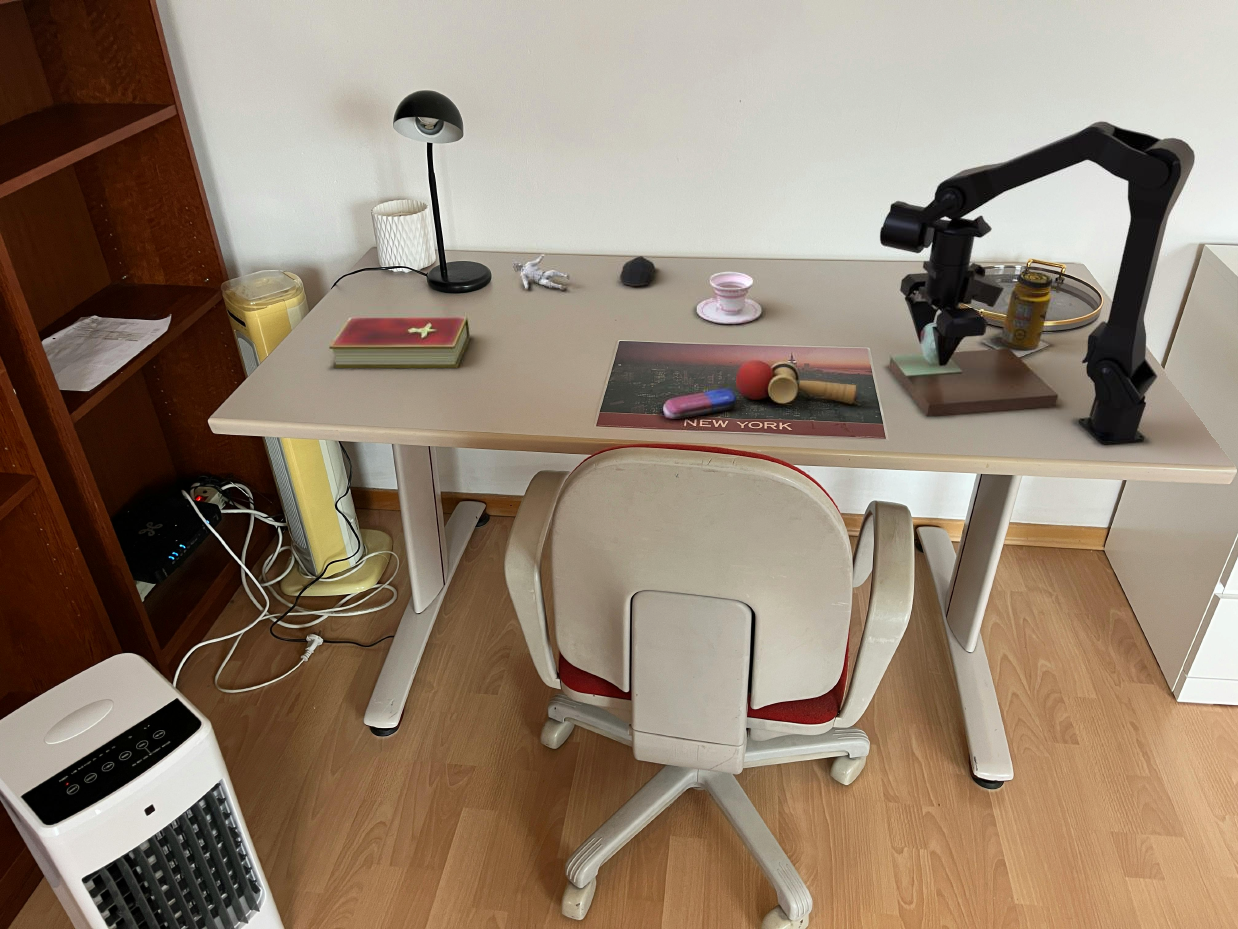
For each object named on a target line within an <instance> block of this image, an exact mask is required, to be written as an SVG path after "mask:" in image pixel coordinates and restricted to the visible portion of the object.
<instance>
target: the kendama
mask: <svg viewBox="0 0 1238 929" xmlns="http://www.w3.org/2000/svg"><path fill="white" fill-rule="evenodd" d="M735 387H736V389H737V392H739V393H740V394H741V395H742V396H743V397H744V398H746V399H750V400H754V401H755V400H756V401H757V400H762V399H764V398H768V397H770V398H771V400H772V401H773V402H775V403H776V404H789V403H791V402H792V401H794V400H795V398H796V397H797V395H798V392H801V393H805V394H808V395H811V396H815V397H820V398H824V399H827V400H829V399H830V400H833V401H837V402H842V403H844V404H848V405H853V404H854V401H855V399H856V394H857V385H856V384H848V383H838V382H827V381H820V380H803V379H802V380H801V379H800V374H799V370H798V368H797V367H796V365H795V364H794V363H792V362H790V361H786V360H781V361H778V362H776V363H774V364H772V365H771V366H770V364H768V363H767V362H765V361H762V360H755V359H754V360H749V361H746V362H745V363H743V364H742V365H741V366H740V367H739V368H738V371H737V372H736V376H735Z"/></svg>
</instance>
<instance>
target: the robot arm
mask: <svg viewBox="0 0 1238 929" xmlns="http://www.w3.org/2000/svg"><path fill="white" fill-rule="evenodd" d="M1195 157H1196V156H1195V151H1194V149H1193V148H1192V147H1191V146H1190V145H1189V143H1187V142H1186V141H1184V140H1183V139H1180V138H1175V137H1167V138H1163V139H1161V138H1159V137H1156V136H1153V135H1151V134H1147V133H1143V132H1139V131H1135V130H1131V129H1126V128H1122V127H1120V126H1117V125H1114V124H1112V123H1110V122H1108V121H1101V120H1100V121H1097V122H1094V123H1091V124H1090V125H1089V126H1087V127H1085V128H1084V129H1081V130H1078V131H1077V132H1075V133H1071V134H1069V135H1067V136H1065V137H1062V138H1060V139H1057V140H1055V141H1052V142H1050V143H1048V144H1045V145H1043V146H1040V147H1038V148H1035V149H1034V150H1033V149H1032V150H1031V151H1028V152H1026V153H1023V154H1020V155H1018V156H1016V157H1014V158H1010V159H1009V160H1006V161H1003V162H998V163H992V164H985V165H979V166H976V167H971V168H966V169H963V170H961V171H960V172H957V173H955V174H954V175H952V176H950V177H948V178H946V179H945V180H943V181H941V182H940V183H939V184H938V186H937V187H936V190H935V192H934V199H933V200H932V201H931V202H930V203H929V204H928V205H926V206H919V205H915V204H910V203H907V202H906V201H902V200H901V201H900V200H896V201H894V202H893V203H891V204H890V208H889V212H888V213H887V215H886V217H885V218H884V220H883V224H882V226H881V228H880V230H879V241H880V244H881V245H882V246H883V247H887V248H891V249H896V250H900V251H905V252H908V253H909V252H910V253H915V254H920V253H922V252H923V251H924V249H928V248H929V247H930V246H931V247H930V254H929V260H924V261H923V264H922V269H923V270H924V271H926V272H921V273H919V272H918V273H908V274H906V275H905V276H903V278H902V279H901V281H900V289H899V291H900V292H901V293H902V295H904V301H905V302H906V305H907V309H908V312H909V315H910V317H911V320H912V323H913V326H914V329H915V333H916V337H917V339H918V342H919V344H920V345H921V332H922V330H923V329H924V327H925V326H926V325H928V324H929V323H936V325H937V326H933V327H932V329H933V335H934V341H935V347H936V353H937V359H938V364H939V365H940V366H945V365H947V363H948V361H949V360H950V358H951V356H952V355H953V353H954V352H956V350H957V348H958V347H959V345H960V344H961V342H962V341H963V339H965V338H967V337H969V338H970V337H983V336H984V335H986V332H987V326H988V322H989V321H987V319H986V318H985V317H984V316H983V315H981V313H979V312H978V310H976V309H975V307H963V308H961V307H960V306H959V305H960V304H962V305H971V304H972V301H975V302H978V303H981V304H985V305H986V306H987V307H990V308H994V307H995V305H996V303H997V301H998V300H999V298H1000V296H1002V293H1003V291H1004V290H1005V287H1003V286H1002V285H1001V284H1000V283H999V282H997V281H996V280H995V279H993V278H992V277H990V276H989V275H987V274H986V268H985V267H983V266H982V265H981V264H979V263H975V262H972V263H971V259H972V252H973V247H974V242H975V238H978V239H981V238H984V237H985V236H986V235H988V234H989V233H991V232H992V226H991V225H989V223H988V222H987V221H986V220H985V218H984V216H983V215H979V216H977V217H975V218H974V219H970V218H965V216H967V215H968V214H970V213H972V212H973V211H975V210H977V209H978V208H980V207H982V206H983V205H985V204H987V203H988V202H990V201H992V200H993V199H995V198H996V197H998V196H1000V195H1002V194H1003V193H1005V192H1008V191H1010V190H1014V189H1015V188H1018V187H1021V186H1023V185H1026V184H1028V183H1031V182H1033V181H1036V180H1038V179H1042V178H1044V177H1046V176H1047V177H1048V176H1049V175H1052V174H1055V173H1057V172H1060V171H1062V170H1065V169H1068V168H1070V167H1072V166H1075V165H1077V164H1080V163H1083V162H1086V161H1090V162H1092V163H1094V164H1096V165H1098V166H1099V167H1101V168H1102V169H1104V170H1105V171H1107V172H1108V173H1110V174H1111V175H1113V176H1115V177H1116V178H1119V179H1121V180H1123V181H1126V182H1127V203H1128V209H1129V215H1130V217H1129V218H1130V220H1129V226H1128V230H1127V235H1126V240H1125V243H1124V248H1123V252H1122V257H1121V260H1120V265H1119V270H1118V274H1117V279H1116V283H1115V288H1114V292H1113V295H1112V296H1113V297H1112V302H1111V305H1110V310H1109V315H1108V320H1107V322H1105V321H1100V323H1099V324H1098V325H1097V326H1096V327H1095V328H1094V329H1093V330H1092V331H1091V332H1090V333H1089V335H1088V337H1087V338H1088V339H1087V350H1086V354H1085V357H1084V358H1083V359H1082V361H1081V363H1082V364H1086V365H1085V366H1086V367H1085V368H1086V371H1085V372H1086V376H1087V378H1089V379H1090V380H1091V382H1092V383H1093V386H1094V393H1095V396H1094V398H1093V402H1092V405H1091V409H1090V411H1089V417H1083V418H1079V419H1078V423H1079V424H1080V426H1082V427H1083V428H1084V429H1085V430H1086V431H1087V432H1088V433H1089V434H1090V435H1091V436H1092V437H1093V438H1094V439H1096V441H1098V443H1099V444H1102V445H1110V444H1121V443H1123V444H1124V443H1135V442H1143V441H1145V438H1146V436H1144V435H1143V433H1141V432H1140V431H1139V430H1138V429H1139V428H1140V424H1141V421H1142V417H1143V416H1144V415H1143V414H1144V411H1145V409H1146V406H1147V401H1145V400H1146V393H1147V392H1148V390H1149V389H1150V388H1151V387H1152V385H1153V384H1154V382H1155V381H1156V380H1157V378H1158V375H1157V373H1156V372H1155V370H1154V369H1153V367H1152V365H1151V364H1150V363H1149V362H1148V360H1147V359H1146V356H1147V355H1146V354H1147V353H1146V352H1147V331H1146V326H1145V316H1146V315H1145V314H1146V311H1147V306H1148V302H1149V299H1150V295H1151V289H1152V286H1153V282H1154V276H1155V273H1156V270H1157V266H1158V260H1159V257H1160V253H1161V249H1162V246H1163V245H1162V244H1163V240H1164V237H1165V232H1166V230H1167V229H1166V228H1167V225H1168V220H1169V217H1170V215H1171V213H1172V211H1173V209H1174V207H1175V205H1176V203H1177V201H1178V200H1179V197H1180V195H1181V194H1182V192H1183V190H1184V188H1185V185H1186V183H1187V182H1188V181H1187V180H1188V178H1189V176H1190V174H1191V173H1192V170H1193V168H1194V165H1195V159H1196V158H1195ZM944 218H947V219H944ZM970 263H971V264H970ZM938 311H940V313H938Z"/></svg>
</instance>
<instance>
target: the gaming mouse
mask: <svg viewBox="0 0 1238 929" xmlns="http://www.w3.org/2000/svg"><path fill="white" fill-rule="evenodd" d="M655 272H656V267H655V264H654V262H652V261H651V260H649V259H647V258H645V257H644V256H643V255H640V256H636V257H635V258H632V259H630V260H628V261H627V262H625V263H624V264H623V266H622V271H620V275H619V276H620V283H622V284H624V285H627V286H631V287H640V286H646V285H649V284H650V283H652V282H653V281H654V280H653V279H654V276H655Z"/></svg>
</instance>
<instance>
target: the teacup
mask: <svg viewBox="0 0 1238 929" xmlns="http://www.w3.org/2000/svg"><path fill="white" fill-rule="evenodd" d="M709 283H710V284H709V285H710V286H711V288H712V289H713V293H714V294H715V296H714V297H710V298H707V299H704V300H703V301H701V302H699V303H698V305H697V306H696V313H697V314H698V316H699V317H701V318H702V319H704V320H706V321H709V322H712V323H717V324H723V325H725V324H727V325H736V324H745V323H748V322H751V321H754V320H756V319H758V318H759V317H760V316H761V315H762V312H763V311H762V307H761V305H760V304H759V303H758V302H756V301H754V300H752V299H749V298H746V295H747V294H748V292H749V290H750V289H751V288H752V287H753V285H754V279H753V278H752V277H751V276H749V275H748V274H745V273H742V272H738V271H737V272H736V271H722V272H717V273H714V274H712V275H711V276H710V278H709Z"/></svg>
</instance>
